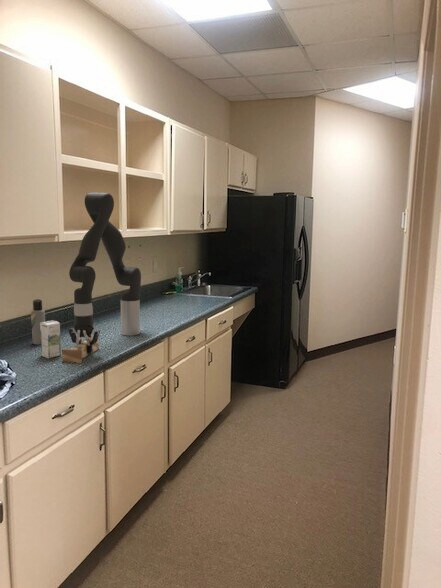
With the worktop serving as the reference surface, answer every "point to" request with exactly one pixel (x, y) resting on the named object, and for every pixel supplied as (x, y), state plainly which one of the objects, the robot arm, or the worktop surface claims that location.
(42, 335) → the syrup box
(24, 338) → the worktop surface
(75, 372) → the worktop surface
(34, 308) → the lotion bottle
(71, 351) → the tan wooden block
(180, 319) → the worktop surface
